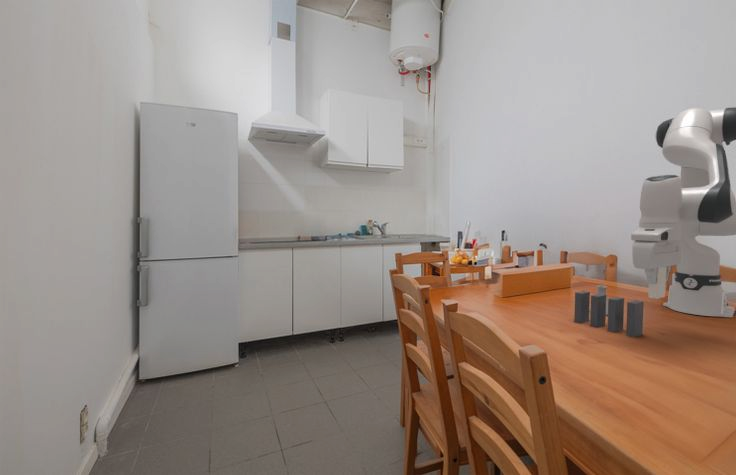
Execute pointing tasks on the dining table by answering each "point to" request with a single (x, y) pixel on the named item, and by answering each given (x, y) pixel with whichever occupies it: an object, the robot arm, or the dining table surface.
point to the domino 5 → (658, 284)
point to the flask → (603, 291)
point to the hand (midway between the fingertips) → (657, 282)
